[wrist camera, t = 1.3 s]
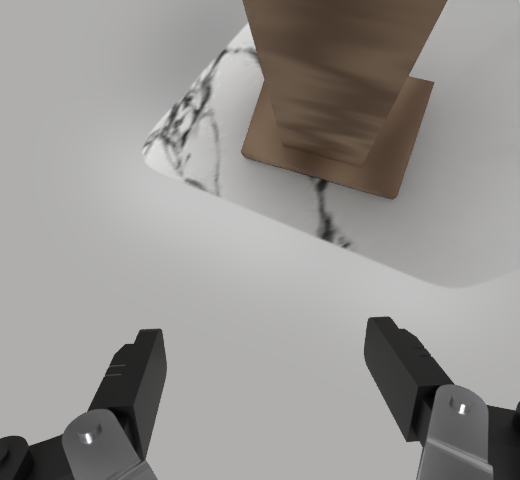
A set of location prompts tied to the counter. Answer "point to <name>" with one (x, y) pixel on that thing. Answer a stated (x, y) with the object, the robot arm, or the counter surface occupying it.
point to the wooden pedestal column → (340, 87)
